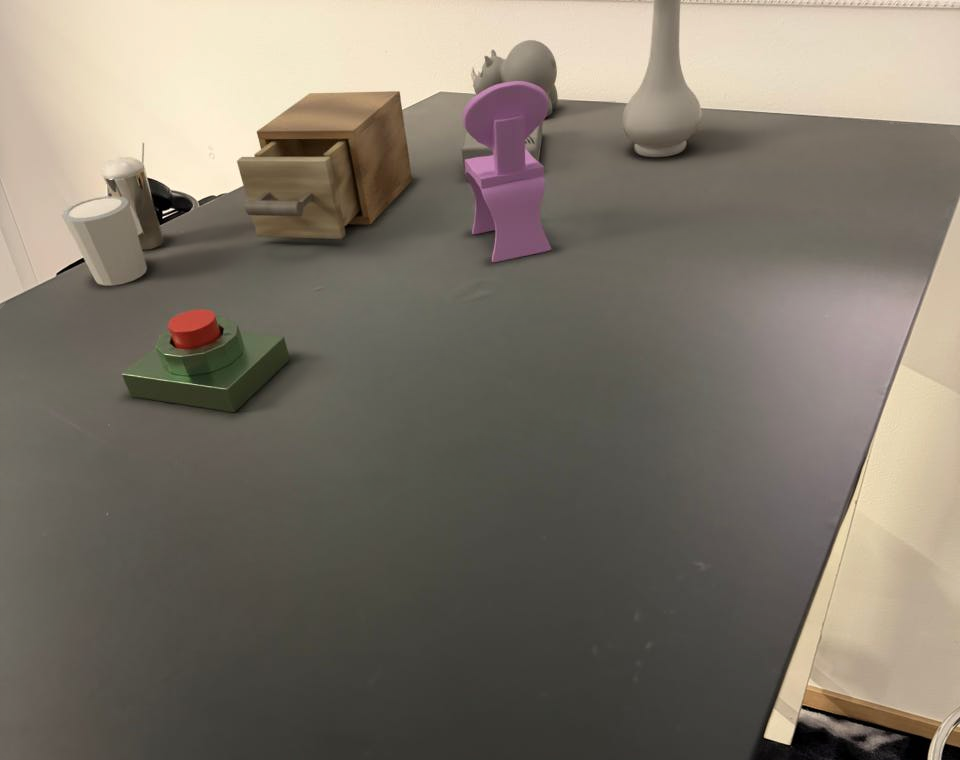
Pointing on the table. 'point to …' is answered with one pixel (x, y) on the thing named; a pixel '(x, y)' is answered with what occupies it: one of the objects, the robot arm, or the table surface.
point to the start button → (194, 329)
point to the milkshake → (135, 196)
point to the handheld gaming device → (479, 150)
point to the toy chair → (507, 167)
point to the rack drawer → (301, 188)
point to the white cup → (107, 239)
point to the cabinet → (355, 140)
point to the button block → (208, 369)
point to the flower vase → (662, 92)
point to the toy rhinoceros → (521, 69)
